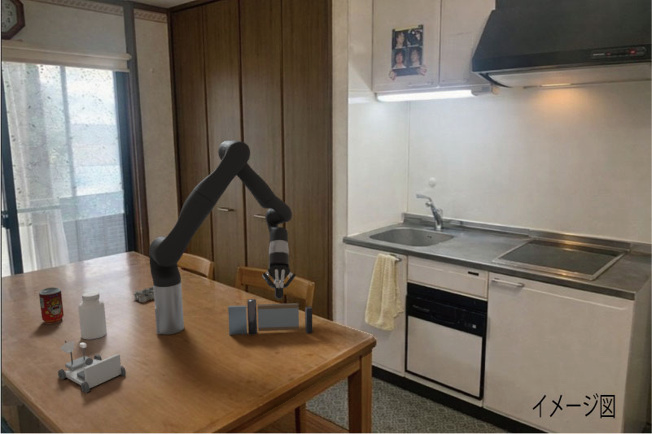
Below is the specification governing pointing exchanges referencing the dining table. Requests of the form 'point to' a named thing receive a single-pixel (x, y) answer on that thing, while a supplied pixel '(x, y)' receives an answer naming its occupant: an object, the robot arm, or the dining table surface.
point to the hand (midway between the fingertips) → (279, 298)
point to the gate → (278, 317)
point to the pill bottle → (92, 316)
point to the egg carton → (144, 294)
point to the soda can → (51, 305)
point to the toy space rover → (90, 368)
